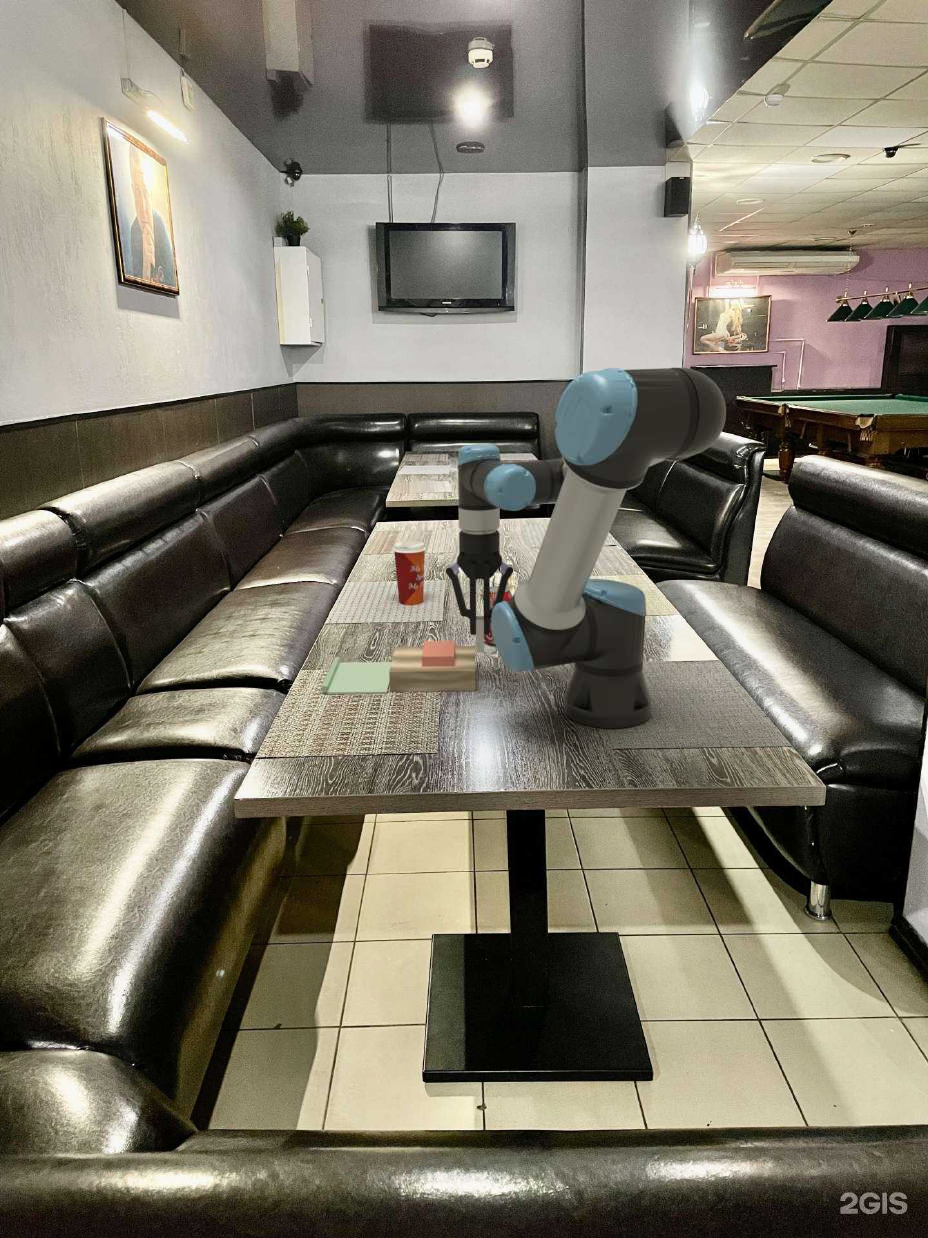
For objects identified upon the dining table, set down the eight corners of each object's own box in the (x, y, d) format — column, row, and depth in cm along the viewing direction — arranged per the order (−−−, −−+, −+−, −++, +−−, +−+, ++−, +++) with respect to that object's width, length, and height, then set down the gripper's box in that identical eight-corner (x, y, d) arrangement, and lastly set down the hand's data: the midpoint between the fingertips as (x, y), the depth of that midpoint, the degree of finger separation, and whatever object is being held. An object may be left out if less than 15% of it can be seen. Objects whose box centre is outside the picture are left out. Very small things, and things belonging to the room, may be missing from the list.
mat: (386, 693, 162) (386, 685, 162) (322, 694, 163) (321, 686, 162) (394, 663, 178) (393, 656, 177) (335, 664, 178) (334, 657, 177)
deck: (475, 690, 163) (475, 670, 162) (390, 691, 163) (389, 671, 162) (475, 664, 176) (475, 646, 175) (396, 665, 177) (395, 646, 175)
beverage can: (477, 642, 190) (477, 589, 186) (497, 635, 194) (497, 583, 190) (498, 648, 186) (498, 594, 182) (518, 641, 190) (518, 588, 186)
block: (454, 666, 164) (453, 656, 164) (422, 666, 164) (421, 656, 164) (454, 650, 173) (454, 640, 172) (424, 650, 173) (424, 641, 172)
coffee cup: (420, 607, 216) (418, 548, 211) (389, 605, 218) (387, 546, 214) (432, 598, 223) (430, 541, 219) (402, 596, 226) (400, 539, 221)
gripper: (513, 525, 165) (513, 643, 172) (444, 526, 165) (446, 644, 172) (515, 533, 157) (514, 656, 165) (443, 534, 158) (445, 657, 165)
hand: (480, 650), depth 168 cm, fingers closed
